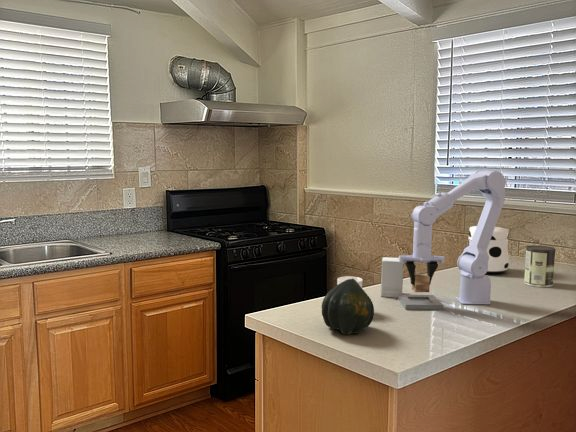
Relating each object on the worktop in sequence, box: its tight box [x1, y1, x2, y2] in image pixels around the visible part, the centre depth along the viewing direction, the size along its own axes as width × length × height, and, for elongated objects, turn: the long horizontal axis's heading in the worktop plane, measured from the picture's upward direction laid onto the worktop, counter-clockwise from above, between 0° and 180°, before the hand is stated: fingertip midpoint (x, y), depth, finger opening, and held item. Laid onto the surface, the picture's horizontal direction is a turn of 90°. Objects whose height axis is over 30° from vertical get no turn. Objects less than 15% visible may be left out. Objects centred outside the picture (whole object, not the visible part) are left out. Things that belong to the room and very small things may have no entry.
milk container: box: [467, 225, 510, 274], centre depth 237 cm, size 17×17×18 cm
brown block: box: [411, 273, 431, 293], centre depth 186 cm, size 4×4×5 cm
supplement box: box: [380, 256, 405, 299], centre depth 199 cm, size 7×7×13 cm
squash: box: [321, 278, 375, 336], centre depth 161 cm, size 14×15×15 cm
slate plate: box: [397, 294, 444, 311], centre depth 188 cm, size 12×12×2 cm
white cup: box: [336, 275, 364, 289], centre depth 180 cm, size 8×8×10 cm
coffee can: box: [523, 244, 557, 288], centre depth 216 cm, size 10×10×14 cm
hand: (420, 284), depth 187 cm, fingers closed on brown block, 5 cm apart
